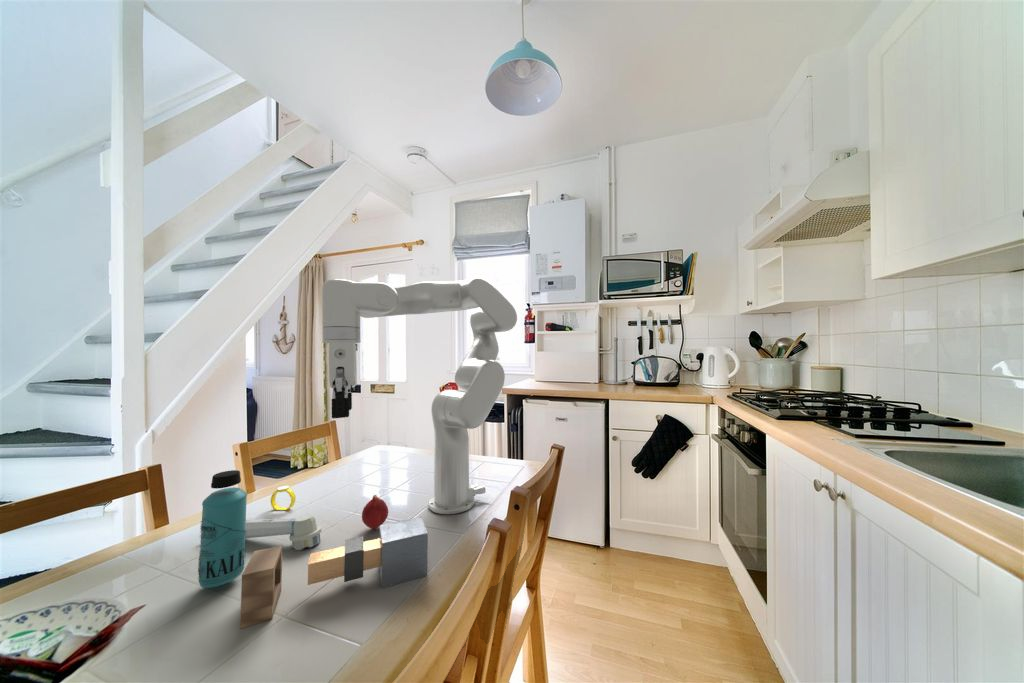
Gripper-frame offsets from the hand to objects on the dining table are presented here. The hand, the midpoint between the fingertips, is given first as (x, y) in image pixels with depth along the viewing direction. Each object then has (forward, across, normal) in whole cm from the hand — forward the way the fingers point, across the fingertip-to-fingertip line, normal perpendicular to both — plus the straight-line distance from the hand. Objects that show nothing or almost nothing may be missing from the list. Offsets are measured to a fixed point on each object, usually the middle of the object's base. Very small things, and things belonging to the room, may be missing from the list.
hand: (342, 413), depth 73 cm
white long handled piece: (+29, +9, +16) cm, 34 cm away
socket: (+28, -15, +11) cm, 34 cm away
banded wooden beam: (+26, -14, -5) cm, 31 cm away
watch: (+29, +26, +16) cm, 42 cm away
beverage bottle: (+28, -5, +19) cm, 35 cm away
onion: (+29, +5, -6) cm, 30 cm away
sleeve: (+29, -14, -11) cm, 34 cm away
